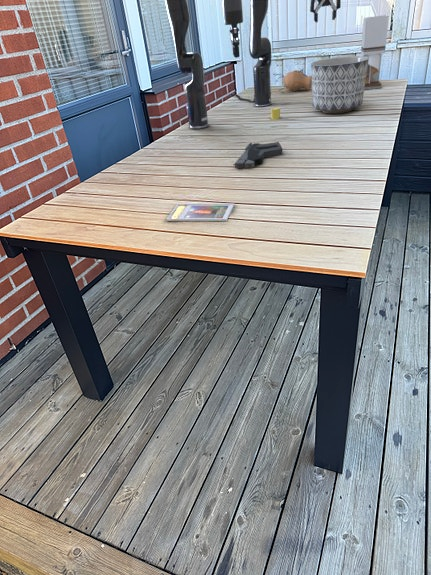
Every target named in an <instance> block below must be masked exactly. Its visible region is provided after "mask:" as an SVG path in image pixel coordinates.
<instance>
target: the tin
mask: <svg viewBox="0 0 431 575" xmlns="http://www.w3.org/2000/svg"><path fill="white" fill-rule="evenodd" d="M270 118H271V120H273V121H275V120H279V119H281V108H280V107H273V108H270Z"/></svg>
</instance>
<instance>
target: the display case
mask: <svg viewBox="0 0 431 575" xmlns="http://www.w3.org/2000/svg"><path fill="white" fill-rule="evenodd" d="M362 21H363V22H362V33H361V35H362V36H361V45H360V46H361V48H360V56H364V57H368V58H369V59H368V66H367V73H366V80H365V87H364V90H373V89H382V86H383V85H382V83H381V82H380V75H381V64H382V55H383V54H385V53H386V46H387V37H388V36H387V35H388V27H389V26H388V25H389V15H386V14H385V15H375V16H368V17H363V20H362Z"/></svg>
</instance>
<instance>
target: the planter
mask: <svg viewBox="0 0 431 575" xmlns="http://www.w3.org/2000/svg"><path fill="white" fill-rule="evenodd" d="M368 59H369V58H368V57H364V56H361V55H349V56H348V55H347V56H336V57H329V58H323V59H318V60H315V61H311V63H310V71H311V76H312V86H311V91H312V92H311V93H312V94H311V96H312V97H311V98H312V108H314V109H315V110H318V111H321V112H322V113H324V114H343V113H348V112H350V111H353V109H356V108H358V107H360V106H361V105H362V104H363V99H364V93H365V89H364V87H365V80H366V73H367V66H368Z"/></svg>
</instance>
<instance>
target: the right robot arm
mask: <svg viewBox="0 0 431 575" xmlns="http://www.w3.org/2000/svg"><path fill="white" fill-rule="evenodd" d="M341 1H342V0H335V2H336V4H335V2H334V0H310V8H309V12H310V13H313V21H314V22H315V23H318V21H319V11H320V9H321V8H322V7H330V8H331V9H332V12H331V13H332V14H331V20H332V21H335V20H336V18H337V10H339V9H341V7H342V6H341ZM316 2H317V4H316ZM315 4H316V6H315ZM268 10H269V0H249V11H250V12H249V38H248V53H249V55H250V57H251V59H254V60H257V62H256V63H255V64H254V65H253V68H252V73H253V74H252V75H253V89H254V90H253V92H254V94H253V100H251V99H249V98H243V97H241V96H240V95H239V94H237V93H233V94H232V95H231V97H232V98H234V97H237V99H238V100H240V101H247V102H249V103H254V106H255V107H257V108H262V107H268V106H270V105H272V91H271V90H272V87H271V66H272V44H271V40H270V39H269V38H268V37H265V36H264V37H263V36H262V28H263V25H264V22H265V19H266V17H267V14H268Z"/></svg>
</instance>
